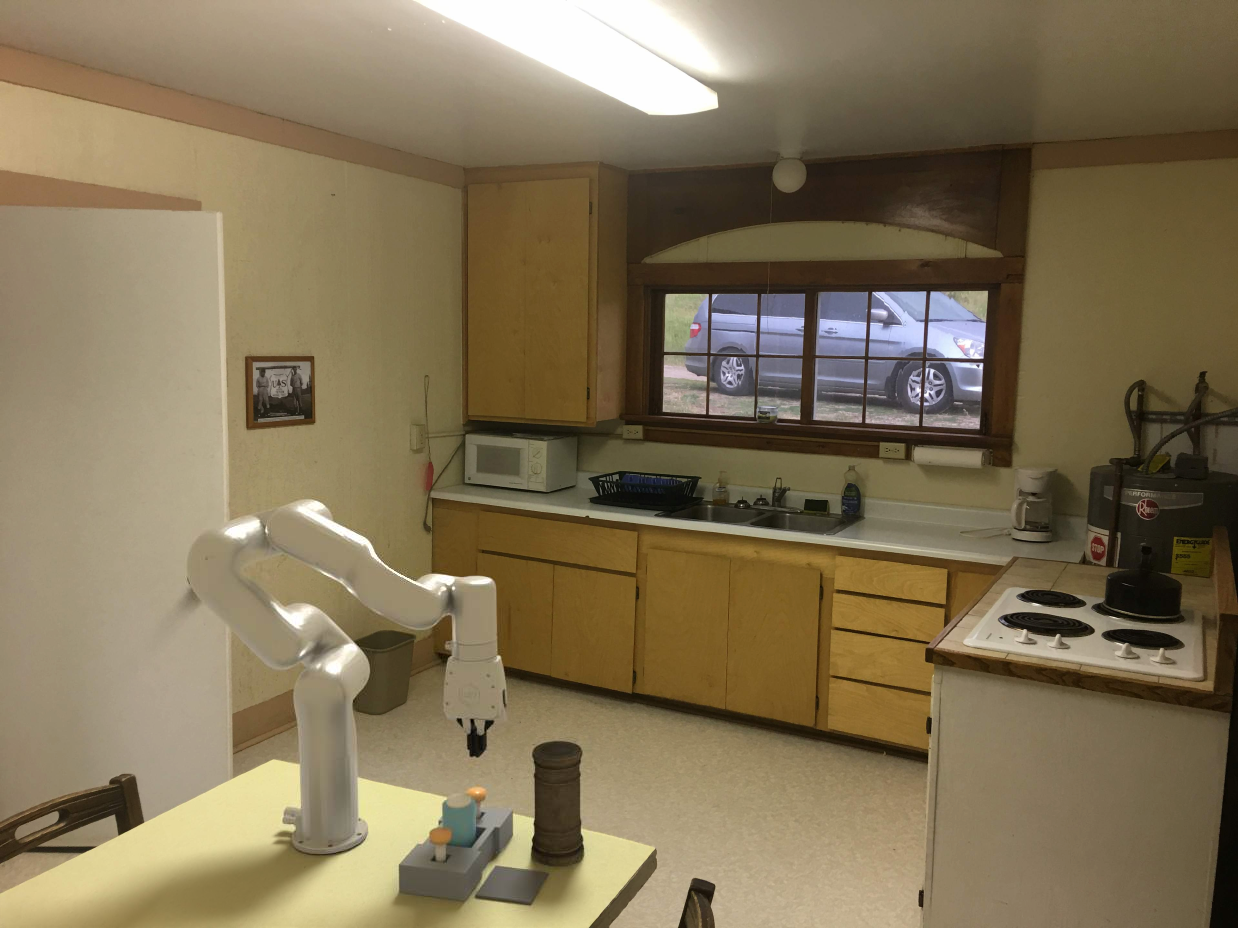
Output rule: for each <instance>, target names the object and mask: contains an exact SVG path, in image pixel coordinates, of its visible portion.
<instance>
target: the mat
mask: <svg viewBox="0 0 1238 928" xmlns="http://www.w3.org/2000/svg"><path fill="white" fill-rule="evenodd" d="M548 877H549V871H544V870H543V871H541V870H534V869H526V868H519V867H512V866H511V867H510V866H504V865H503V866H502V865H494V867H493V869H492V870H491V871H490V873H489V874H488V876H487V877H486V879H485V880H484V881H483V883H482V884H481V885H480V887H479V888H478V890H477V892H475V894H474V897H475V898H478V899H484V900H485V899H487V900H494V901H501V902H508V903H516V904H521V905H522V904H523V905H529V906H531V905H532V904H533V902H534V900H535V898H536V896H537V895H538V893H539V891H540V890H541V888H542V886H543V884H544V883H545V881H546V879H547V878H548Z"/></svg>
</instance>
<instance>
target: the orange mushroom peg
mask: <svg viewBox="0 0 1238 928" xmlns="http://www.w3.org/2000/svg"><path fill="white" fill-rule="evenodd" d="M465 794H468V795H470V796H471V798H473V799H474V800H475V802H476V819H481V806H482V802H484V801H485V800H486V799H487V790H486V788H483V787H479V786H476V787H470V788H468V789H467V790H465Z"/></svg>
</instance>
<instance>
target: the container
mask: <svg viewBox="0 0 1238 928" xmlns="http://www.w3.org/2000/svg"><path fill="white" fill-rule="evenodd" d="M531 756H532V760H533V765H534V773H533V778H534V786H533V788H534V819H533V823H532V824H533V836H532V838H531V848H530V852H531V855H532V857H533V858H534V859H535V861H537V862H538V863H541V864H543V865H547V866H553V867H557V866H559V867H561V866H563V867H564V866H568V865H572V864H575V863H576V862H579V860H581V859H582V857H583V855H584V853H585V845H584V843H583V842H584V836H583V834H582V819H581V776H582V772H581V770H580V765H581V763H582V757H583V749H582V747H581V746H580V745H578V744H576V743H574V742H571V741H564V740H554V741H553V740H552V741H547V742H543V743H540V744H538V745H536V746H535V747H534V748H533V749H532V753H531Z"/></svg>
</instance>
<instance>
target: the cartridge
mask: <svg viewBox="0 0 1238 928" xmlns="http://www.w3.org/2000/svg"><path fill="white" fill-rule="evenodd" d="M441 805H442V806H441V807H442V808H441V810H442V812H441V815H442V816H441V817H442V825H443V827H447V828H449V829H451V838H452V839H451V841H450V842H448V843H446V845H450V846H458V847H466V848H472V846H473V845H474V844H475V843H476V802H475V800H474V799H473V798H471V796H470V795H468V794H466V793H453V794H451V795H449V796H447V798H446V799H445V800H444V801H443V802H442V803H441Z"/></svg>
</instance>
